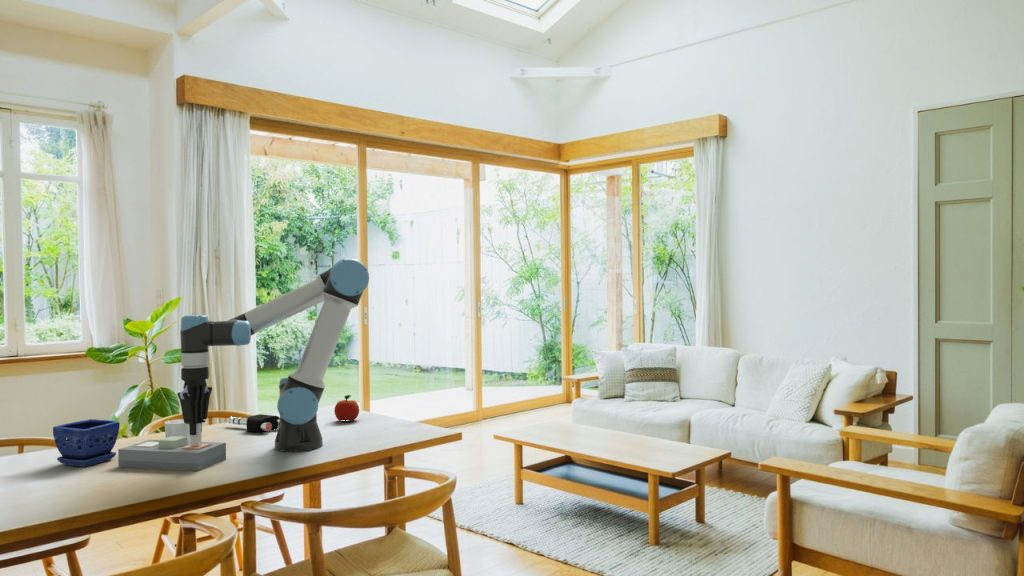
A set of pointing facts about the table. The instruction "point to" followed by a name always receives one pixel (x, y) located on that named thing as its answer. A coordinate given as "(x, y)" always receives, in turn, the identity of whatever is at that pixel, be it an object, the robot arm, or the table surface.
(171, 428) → the white cup
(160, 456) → the key panel
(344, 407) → the fruit
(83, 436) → the flower pot
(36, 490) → the table surface
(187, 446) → the key terracotta
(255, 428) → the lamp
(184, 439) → the key sage
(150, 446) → the key offwhite
